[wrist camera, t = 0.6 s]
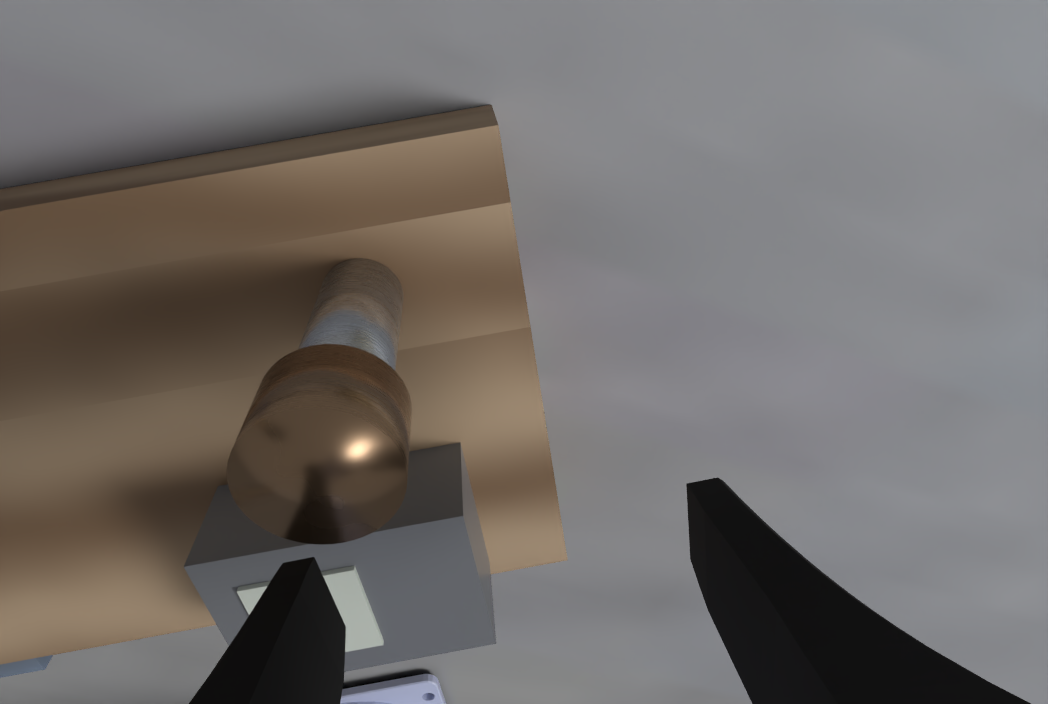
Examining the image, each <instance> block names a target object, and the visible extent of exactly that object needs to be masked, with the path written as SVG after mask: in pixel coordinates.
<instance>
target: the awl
mask: <svg viewBox="0 0 1048 704" xmlns="http://www.w3.org/2000/svg"><path fill="white" fill-rule="evenodd" d="M403 298H404V297H403V289H402V286H401V283H400V281H399V279H398V278H397V276H396V275H395V274H394V273H393V271H391V270H390V269H389V268H388V267H386V266H385V265H383V264H382V263H380V262H377V261H375V260H371V259H366V258H353V259H348V260H345V261H343V262H340V263H339V264H337V265H336V266H334V267H333V268H332V269H331V270H330V271H329V272H328V273H327V275H326V277H325V278H324V281H323V283H322V286H321V289H320V292H319V294H318V297H317V300H316V302H315V305H314V308H313V310H312V313H311V316H310V318H309V321H308V324H307V327H306V329H305V332H304V335H303V337H302V340H301V343H300V345H299V348H298V350H296V351H293V352H291V353H289V354H287V355H285V356H284V357H282V358H281V359H280V360H278V361H277V362H276V363H275V364H274V365H273V366H272V367H271V368H270V369H269V370H268V371H267V373H266V374H265V376H264V377H263V379H262V381H261V383H260V385H259V388H258V390H257V392H256V395H255V397H254V399H253V402H252V404H251V406H250V409H249V411H248V413H247V416H246V418H245V420H244V423H243V425H242V427H241V430H240V432H239V434H238V436H237V439H236V441H235V443H234V446H233V448H232V450H231V453H230V456H229V459H228V463H227V482H228V487H229V490H230V492H231V495H232V497H233V499H234V501H235V502H236V504H237V505H238V507H239V508H240V509H241V511H242V512H243V513H244V514H245V515H246V516H247V517H248V518H249V519H250V520H252V521H253V522H254V523H255V524H257V525H258V526H260V527H261V528H263V529H265V530H266V531H268V532H270V533H272V534H274V535H277V536H279V537H282V538H285V539H288V540H292V541H296V542H300V543H307V544H320V545H323V544H337V543H344V542H348V541H353V540H356V539H359V538H362V537H364V536H366V535H368V534H370V533H373V532H374V531H376V530H377V529H379V528H381V527H382V526H383V525H384V524H386V523H387V522H388V521H389V520H390V519H391V518H392V517H393V516H394V515H395V513H396V512H397V511H398V509H399V508H400V506H401V504H402V502H403V500H404V497H405V493H406V488H407V478H408V464H409V449H410V434H411V419H412V404H411V399H410V395H409V392H408V389H407V387H406V385H405V384H404V382H403V380H402V379H401V377H400V376H399V375H398V373H397V372H396V371H395V368H396V359H397V351H398V342H399V333H400V325H401V316H402V307H403Z"/></svg>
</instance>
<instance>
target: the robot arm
mask: <svg viewBox="0 0 1048 704" xmlns="http://www.w3.org/2000/svg"><path fill="white" fill-rule="evenodd" d="M687 502H688V521H689V540H690V559H691V562H692V565H693V568H694V571H695V574H696V577H697V580H698V583H699V586H700V589H701V591H702V594H703V597H704V600H705V603H706V606H707V608H708V611H709V613H710V615H711V617H712V619H713V622H714V624H715V626H716V628H717V630H718V632H719V634H720V636H721V638H722V641H723V643H724V645H725V647H726V649H727V651H728V653H729V655H730V657H731V660H732V662H733V664H734V666H735V668H736V670H737V672H738V674H739V676H740V678H741V681H742V683H743V685H744V687H745V689H746V691H747V693H748V695H749V697H750V699H751V701H752V704H1031V703H1029V702H1027V701H1025V700H1023V699H1021V698H1019V697H1017V696H1015V695H1013V694H1011V693H1009V692H1007V691H1005V690H1003V689H1001V688H1000V687H998V686H996V685H994V684H992V683H990V682H988V681H986V680H984V679H983V678H981V677H979V676H978V675H976V674H974V673H972V672H971V671H969V670H967V669H965V668H964V667H962V666H960V665H958V664H957V663H955V662H953V661H951V660H950V659H948V658H946V657H945V656H943V655H941V654H939V653H938V652H936V651H934V650H932V649H931V648H929V647H927V646H926V645H924V644H923V643H921V642H920V641H918V640H916V639H915V638H913V637H912V636H910V635H909V634H907V633H906V632H904V631H902V630H901V629H899V628H898V627H896V626H895V625H893V624H892V623H890V622H889V621H888V620H886V619H885V618H883V617H882V616H880V615H879V614H877V613H876V612H874V611H873V610H871V609H870V608H869V607H867V606H866V605H865V604H863V603H862V602H860V601H859V600H858V599H856V598H855V597H854V596H852V595H851V594H850V593H848V592H847V591H846V590H844V589H843V588H842V587H840V586H839V585H838V584H837V583H835V582H834V581H833V580H832V579H830V578H829V577H828V576H826V575H825V574H824V573H823V572H821V571H820V570H819V569H818V568H817V567H815V566H814V565H813V564H812V563H810V562H809V561H808V560H807V559H806V558H805V557H803V556H802V555H801V554H800V553H799V552H798V551H796V550H795V549H794V548H793V547H792V546H791V545H790V544H788V543H787V542H786V541H785V540H784V539H783V538H782V537H780V536H779V535H778V534H777V533H776V532H775V531H774V530H773V529H772V528H771V527H769V526H768V525H767V524H766V523H765V522H764V521H763V520H762V519H761V518H760V517H759V516H758V515H757V514H756V513H755V512H754V511H753V510H752V509H750V508H749V507H748V506H747V505H746V504H745V503H744V502H743V501H742V500H741V499H740V498H739V497H738V496H737V495H736V494H735V493H734V492H733V491H732V490H731V488H730V487H729V486H728V485H727V484H726V483H725V482H724V481H722V480H721V479H719V478H713V479H708V480H703V481H698V482H693V483H688V484H687ZM345 639H346V626H345V624H344V622H343V619H342V617H341V615H340V613H339V610H338V608H337V606H336V604H335V602H334V599H333V597H332V595H331V593H330V590H329V588H328V586H327V584H326V582H325V579H324V577H323V575H322V573H321V570H320V568H319V566H318V564H317V562H316V559H315V557H310V558H305V559H300V560H295V561H290V562H285V563H282V565H281V566H280V567H279V569H278V570H277V572H276V574H275V575H274V577H273V578H272V580H271V581H270V583H269V585H268V586H267V588H266V589H265V591H264V592H263V594H262V596H261V597H260V599H259V600H258V602H257V604H256V605H255V607H254V608H253V610H252V612H251V613H250V615H249V616H248V618H247V619H246V621H245V623H244V624H243V626H242V627H241V629H240V630H239V632H238V633H237V635H236V636H235V638H234V639H233V641H232V642H231V644H230V645H229V647H228V648H227V650H226V651H225V653H224V654H223V656H222V657H221V659H220V660H219V662H218V663H217V665H216V666H215V668H214V669H213V671H212V672H211V674H210V675H209V677H208V678H207V679H206V681H205V682H204V684H203V685H202V686H201V688H200V689H199V690H198V692H197V693H196V695H195V696H194V697H193V699H192V700H191V701H190V703H189V704H446V702H445V699H444V696H443V693H442V690H441V687H440V684H439V681H438V679H437V678H436V677H435V676H434V675H432V674H421V675H416V676H410V677H405V678H399V679H394V680H389V681H383V682H378V683H373V684H367V685H362V686H357V687H351V688H346V689H342V688H343V682H344V665H345Z"/></svg>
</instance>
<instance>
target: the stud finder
mask: <svg viewBox="0 0 1048 704" xmlns="http://www.w3.org/2000/svg"><path fill="white" fill-rule="evenodd" d="M310 557H315V559H316V562H317V564H318V566H319V568H320V570H321V573H322V575H323V577H324V579H325V582H326V584H327V586H328V588H329V590H330V593H331V595H332V597H333V599H334V602H335V604H336V606H337V608H338V610H339V613H340V615H341V617H342V619H343V622H344V624H345V626H346V639H345V665H344V672H346V671H351V670H356V669H362V668H367V667H372V666H378V665H383V664H389V663H394V662H399V661H405V660H410V659H415V658H421V657H426V656H432V655H437V654H442V653H448V652H453V651H459V650H464V649H469V648H475V647H480V646H485V645H491V644H496V635H495V623H494V610H493V597H492V585H491V572H490V562H489V558H488V554H487V550H486V546H485V541H484V537H483V533H482V529H481V525H480V521H479V517H478V513H477V508H476V504H475V500H474V496H473V492H472V488H471V484H470V480H469V476H468V471H467V467H466V463H465V459H464V455H463V451H462V447H461V443H460V442H459V443H454V444H448V445H443V446H437V447H432V448H426V449H420V450H415V451H409V464H408V478H407V488H406V493H405V497H404V500H403V502H402V504H401V506H400V508H399V509H398V511H397V512H396V513H395V515H394V516H393V517H392V518H391V519H390V520H389V521H388V522H387V523H386V524H384V525H383V526H382V527H381V528H379V529H377V530H376V531H374V532H373V533H370V534H368V535H366V536H364V537H362V538H359V539H356V540H353V541H348V542H344V543H337V544H323V545H320V544H307V543H300V542H296V541H292V540H288V539H285V538H282V537H279V536H277V535H274V534H272V533H270V532H268V531H266V530H265V529H263V528H261V527H260V526H258V525H257V524H255V523H254V522H253V521H252V520H250V519H249V518H248V517H247V516H246V515H245V514H244V513H243V512H242V511H241V509H240V508H239V507H238V505H237V504H236V502H235V501H234V499H233V497H232V495H231V492H230V490H229V487H228V484H227V485H221V486H218V487H217V490H216V492H215V494H214V497H213V499H212V501H211V504H210V506H209V508H208V511H207V513H206V515H205V518H204V520H203V522H202V525H201V527H200V529H199V532H198V534H197V536H196V539H195V541H194V543H193V546H192V548H191V551H190V553H189V555H188V558H187V560H186V562H185V565H184V569H185V570H186V572H187V574H188V576H189V577H190V579H191V581H192V583H193V584H194V586H195V588H196V590H197V591H198V593H199V595H200V597H201V598H202V600H203V602H204V604H205V605H206V607H207V609H208V611H209V612H210V614H211V616H212V618H213V619H214V621H215V623H216V625H217V626H218V628H219V630H220V632H221V633H222V635H223V637H224V638H225V640H226V642H227V644H228V645H230V644H231V642H232V641H233V639H234V638H235V636H236V635H237V633H238V632H239V630H240V629H241V627H242V626H243V624H244V623H245V621H246V619H247V618H248V616H249V615H250V613H251V612H252V610H253V608H254V607H255V605H256V604H257V602H258V600H259V599H260V597H261V596H262V594H263V592H264V591H265V589H266V588H267V586H268V585H269V583H270V581H271V580H272V578H273V577H274V575H275V574H276V572H277V570H278V569H279V567H280V566H281V565H282V563H285V562H290V561H295V560H300V559H305V558H310Z"/></svg>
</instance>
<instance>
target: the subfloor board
mask: <svg viewBox="0 0 1048 704" xmlns="http://www.w3.org/2000/svg"><path fill="white" fill-rule="evenodd" d="M353 258H366V259H371V260H375V261H377V262H380V263H382V264H383V265H385V266H386V267H388V268H389V269H390V270H391V271H393V273H394V274H395V275H396V276H397V278H398V279H399V281H400V283H401V286H402V289H403V297H404V298H403V307H402V316H401V325H400V333H399V342H398V351H397V359H396V368H395V371H396V372H397V373H398V375H399V376H400V377H401V379H402V380H403V382H404V384H405V385H406V387H407V389H408V392H409V395H410V399H411V404H412V419H411V434H410V449H409V451H415V450H420V449H426V448H432V447H437V446H443V445H448V444H454V443H459V442H460V443H461V447H462V451H463V455H464V459H465V463H466V467H467V471H468V476H469V480H470V484H471V488H472V492H473V496H474V500H475V504H476V508H477V513H478V517H479V521H480V525H481V529H482V533H483V537H484V541H485V546H486V550H487V554H488V558H489V562H490V572H491V574H495V573H500V572H506V571H511V570H517V569H522V568H527V567H533V566H538V565H544V564H549V563H555V562H560V561H566V560H567V554H566V548H565V541H564V535H563V529H562V522H561V516H560V510H559V504H558V497H557V491H556V485H555V478H554V472H553V466H552V460H551V453H550V447H549V441H548V434H547V428H546V422H545V416H544V409H543V403H542V397H541V390H540V384H539V378H538V372H537V365H536V359H535V353H534V346H533V340H532V334H531V328H530V321H529V315H528V309H527V303H526V296H525V290H524V284H523V277H522V271H521V265H520V259H519V252H518V246H517V240H516V233H515V227H514V221H513V215H512V208H511V202H510V196H509V189H508V183H507V177H506V171H505V164H504V158H503V152H502V145H501V139H500V133H499V127H498V123H497V120H496V117H495V114H494V111H493V108H492V105H486V106H481V107H475V108H469V109H463V110H457V111H452V112H446V113H440V114H434V115H428V116H423V117H417V118H411V119H405V120H399V121H393V122H388V123H382V124H376V125H370V126H364V127H359V128H353V129H347V130H341V131H335V132H330V133H324V134H318V135H312V136H306V137H300V138H295V139H289V140H283V141H277V142H271V143H266V144H260V145H254V146H248V147H242V148H237V149H231V150H225V151H219V152H213V153H207V154H202V155H196V156H190V157H184V158H178V159H173V160H167V161H161V162H155V163H149V164H144V165H138V166H132V167H126V168H120V169H114V170H109V171H103V172H97V173H91V174H85V175H80V176H74V177H68V178H62V179H56V180H51V181H45V182H39V183H33V184H27V185H21V186H16V187H10V188H4V189H0V678H1V677H6V676H12V675H17V674H23V673H28V672H34V671H39V670H44V669H45V668H46V667H47V665H48V663H49V661H50V660H51V658H52V656H53V655H55V654H60V653H66V652H71V651H76V650H82V649H87V648H93V647H98V646H104V645H109V644H115V643H120V642H125V641H131V640H136V639H142V638H147V637H153V636H158V635H163V634H169V633H174V632H180V631H185V630H191V629H196V628H201V627H207V626H212V625H216V623H215V621H214V619H213V618H212V616H211V614H210V612H209V611H208V609H207V607H206V605H205V604H204V602H203V600H202V598H201V597H200V595H199V593H198V591H197V590H196V588H195V586H194V584H193V583H192V581H191V579H190V577H189V576H188V574H187V572H186V570H185V569H184V565H185V562H186V560H187V558H188V555H189V553H190V551H191V548H192V546H193V543H194V541H195V539H196V536H197V534H198V532H199V529H200V527H201V525H202V522H203V520H204V518H205V515H206V513H207V511H208V508H209V506H210V504H211V501H212V499H213V497H214V494H215V492H216V490H217V487H218V486H221V485H227V484H228V482H227V463H228V459H229V456H230V453H231V450H232V448H233V446H234V443H235V441H236V439H237V436H238V434H239V432H240V430H241V427H242V425H243V423H244V420H245V418H246V416H247V413H248V411H249V409H250V406H251V404H252V402H253V399H254V397H255V395H256V392H257V390H258V388H259V385H260V383H261V381H262V379H263V377H264V376H265V374H266V373H267V371H268V370H269V369H270V368H271V367H272V366H273V365H274V364H275V363H276V362H277V361H278V360H280V359H281V358H282V357H284V356H285V355H287V354H289V353H291V352H293V351H296V350H298V348H299V345H300V343H301V340H302V337H303V335H304V332H305V329H306V327H307V324H308V321H309V318H310V316H311V313H312V310H313V308H314V305H315V302H316V300H317V297H318V294H319V292H320V289H321V286H322V283H323V281H324V278H325V277H326V275H327V273H328V272H329V271H330V270H331V269H332V268H333V267H334V266H336V265H337V264H339V263H340V262H343V261H345V260H348V259H353Z"/></svg>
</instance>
